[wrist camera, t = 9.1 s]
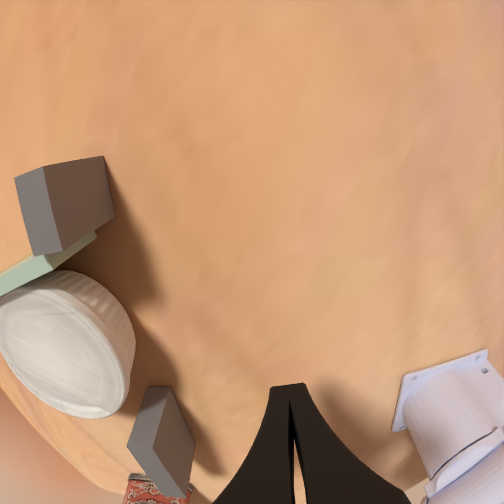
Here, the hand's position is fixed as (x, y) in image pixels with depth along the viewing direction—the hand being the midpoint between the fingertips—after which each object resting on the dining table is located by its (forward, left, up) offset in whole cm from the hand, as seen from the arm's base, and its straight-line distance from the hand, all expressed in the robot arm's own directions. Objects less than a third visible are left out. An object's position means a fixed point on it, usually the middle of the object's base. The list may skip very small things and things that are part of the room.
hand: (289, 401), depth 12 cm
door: (+18, -5, -9) cm, 21 cm away
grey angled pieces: (+10, +2, -9) cm, 14 cm away
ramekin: (+15, +1, -10) cm, 18 cm away
